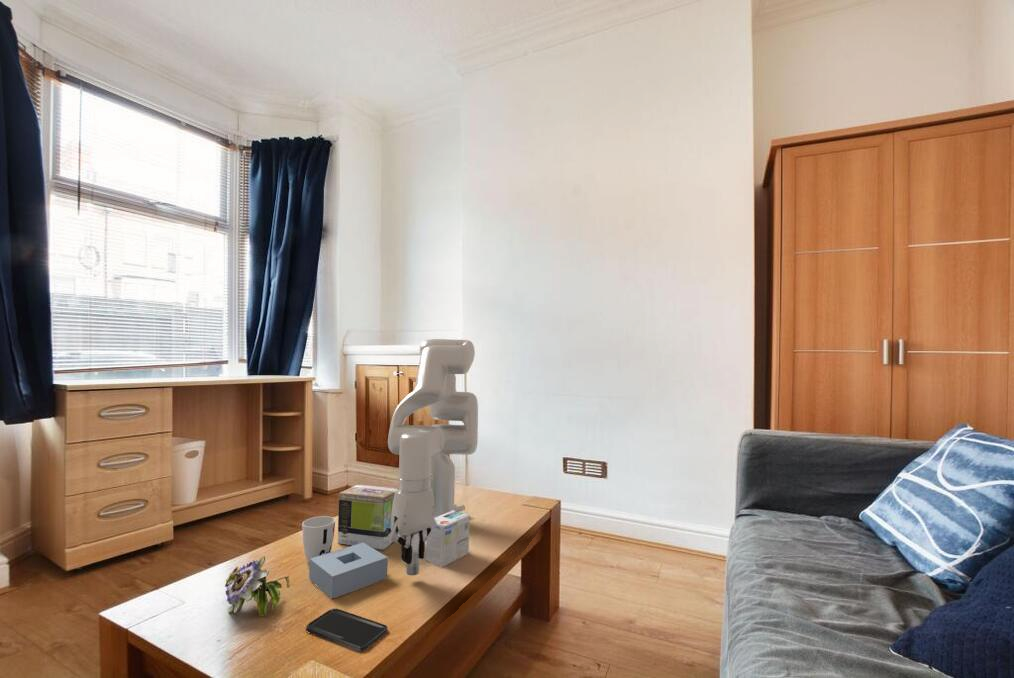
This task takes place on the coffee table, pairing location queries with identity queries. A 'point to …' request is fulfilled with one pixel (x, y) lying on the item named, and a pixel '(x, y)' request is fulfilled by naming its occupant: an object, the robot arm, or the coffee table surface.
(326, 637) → the phone
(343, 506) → the tea box
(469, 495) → the coffee table surface
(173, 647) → the coffee table surface
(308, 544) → the cup
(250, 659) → the coffee table surface
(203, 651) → the coffee table surface
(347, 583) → the hole block
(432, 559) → the light bulb box
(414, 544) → the pin
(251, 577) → the passion flower
